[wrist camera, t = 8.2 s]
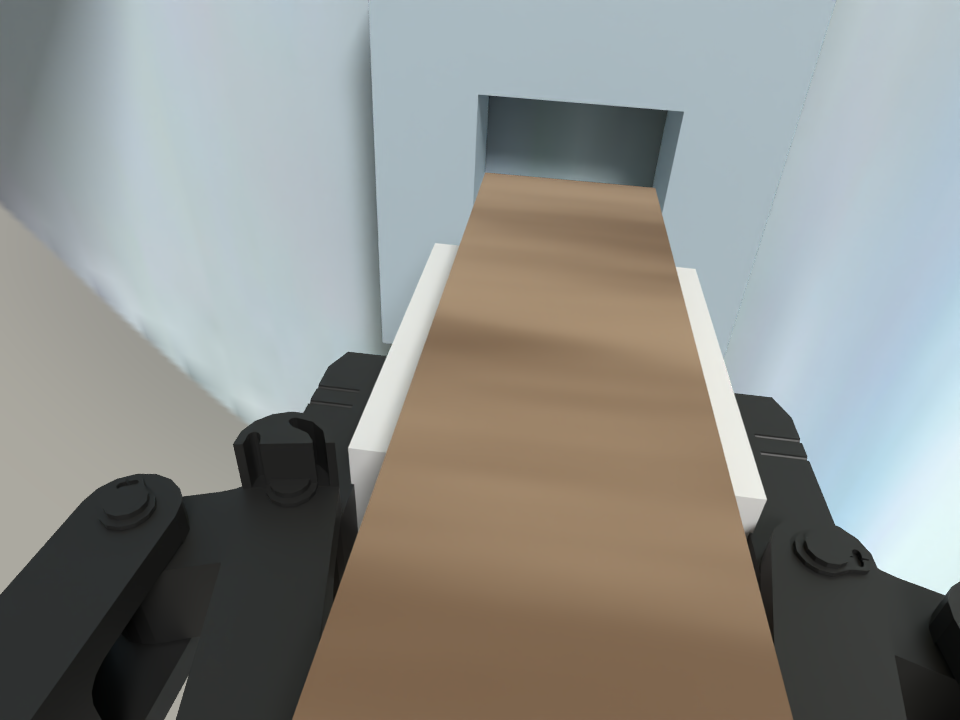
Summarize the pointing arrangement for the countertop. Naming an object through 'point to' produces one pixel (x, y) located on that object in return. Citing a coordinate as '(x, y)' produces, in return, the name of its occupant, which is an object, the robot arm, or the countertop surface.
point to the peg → (552, 494)
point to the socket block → (593, 80)
